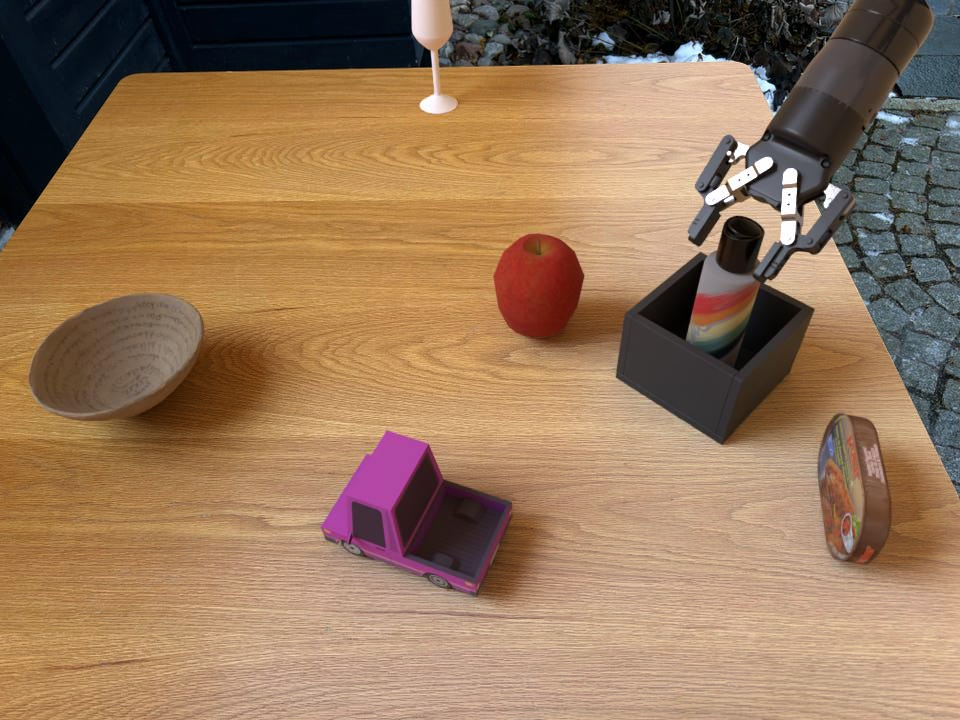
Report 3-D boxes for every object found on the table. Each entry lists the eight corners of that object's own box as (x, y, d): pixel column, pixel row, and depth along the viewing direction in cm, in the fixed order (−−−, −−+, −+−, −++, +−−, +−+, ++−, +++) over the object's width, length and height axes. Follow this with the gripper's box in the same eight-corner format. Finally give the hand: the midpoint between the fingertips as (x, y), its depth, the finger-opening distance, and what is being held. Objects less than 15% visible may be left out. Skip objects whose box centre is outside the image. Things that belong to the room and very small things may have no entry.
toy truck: (376, 468, 78) (361, 407, 71) (515, 515, 73) (515, 455, 66) (323, 555, 71) (301, 497, 64) (473, 612, 67) (467, 557, 59)
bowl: (58, 363, 90) (26, 315, 84) (212, 320, 94) (192, 272, 88) (59, 482, 78) (22, 435, 72) (235, 426, 82) (214, 378, 77)
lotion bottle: (671, 357, 86) (702, 213, 71) (715, 346, 87) (755, 201, 72) (695, 393, 82) (733, 248, 67) (741, 380, 83) (789, 235, 68)
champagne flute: (465, 102, 130) (457, -46, 113) (438, 117, 127) (425, -33, 110) (439, 91, 134) (427, -55, 116) (411, 105, 130) (395, -43, 113)
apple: (502, 362, 87) (500, 271, 77) (488, 305, 94) (485, 215, 84) (588, 350, 88) (598, 258, 78) (568, 295, 95) (574, 204, 85)
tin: (813, 446, 78) (839, 393, 72) (845, 450, 77) (874, 397, 71) (829, 577, 68) (860, 529, 62) (866, 584, 67) (901, 536, 61)
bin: (789, 373, 85) (815, 308, 77) (721, 445, 78) (742, 382, 71) (685, 315, 92) (700, 251, 85) (615, 377, 85) (624, 313, 78)
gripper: (753, 61, 69) (652, 217, 72) (901, 118, 61) (779, 289, 65) (773, 96, 75) (679, 238, 79) (910, 151, 67) (798, 306, 71)
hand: (724, 261), depth 72 cm, fingers open, 7 cm apart
